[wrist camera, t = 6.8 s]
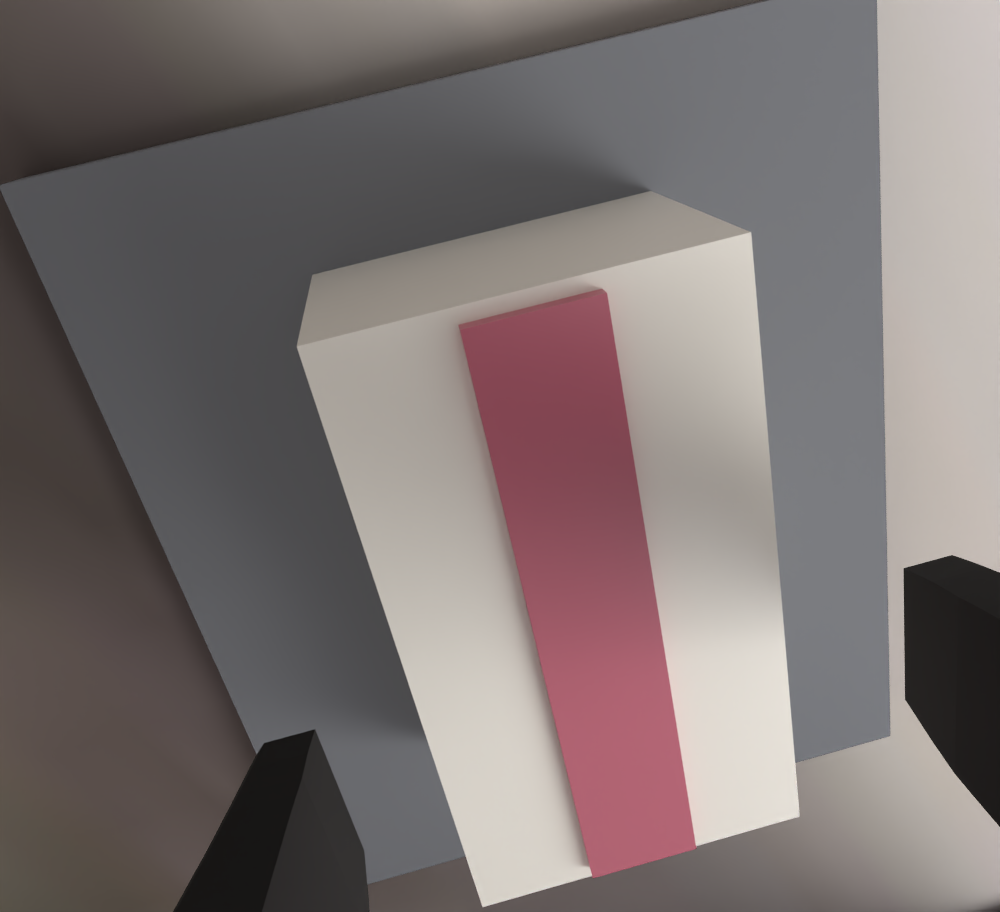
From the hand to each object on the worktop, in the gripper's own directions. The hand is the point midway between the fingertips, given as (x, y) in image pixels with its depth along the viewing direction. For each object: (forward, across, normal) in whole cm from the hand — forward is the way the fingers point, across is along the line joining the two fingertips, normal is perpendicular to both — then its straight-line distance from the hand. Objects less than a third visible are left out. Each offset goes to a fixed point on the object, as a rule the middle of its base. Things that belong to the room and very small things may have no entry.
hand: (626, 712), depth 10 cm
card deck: (+5, 0, 0) cm, 5 cm away
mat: (+5, 0, 0) cm, 5 cm away
